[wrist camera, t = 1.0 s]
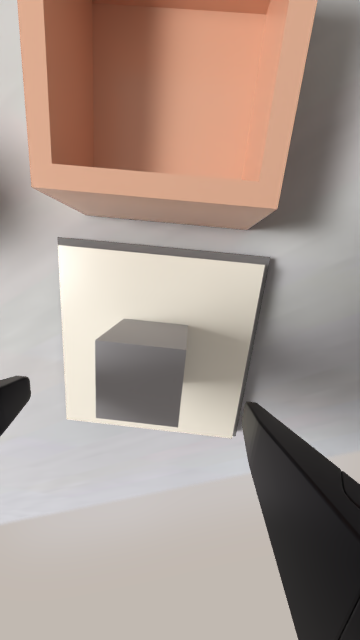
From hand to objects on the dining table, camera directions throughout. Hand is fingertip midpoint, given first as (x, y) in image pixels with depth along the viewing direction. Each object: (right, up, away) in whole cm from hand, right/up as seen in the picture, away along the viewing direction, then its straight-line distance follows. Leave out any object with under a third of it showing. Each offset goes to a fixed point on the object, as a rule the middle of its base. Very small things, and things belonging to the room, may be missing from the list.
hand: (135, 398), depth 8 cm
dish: (+1, +14, +3) cm, 14 cm away
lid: (0, +1, +6) cm, 6 cm away
